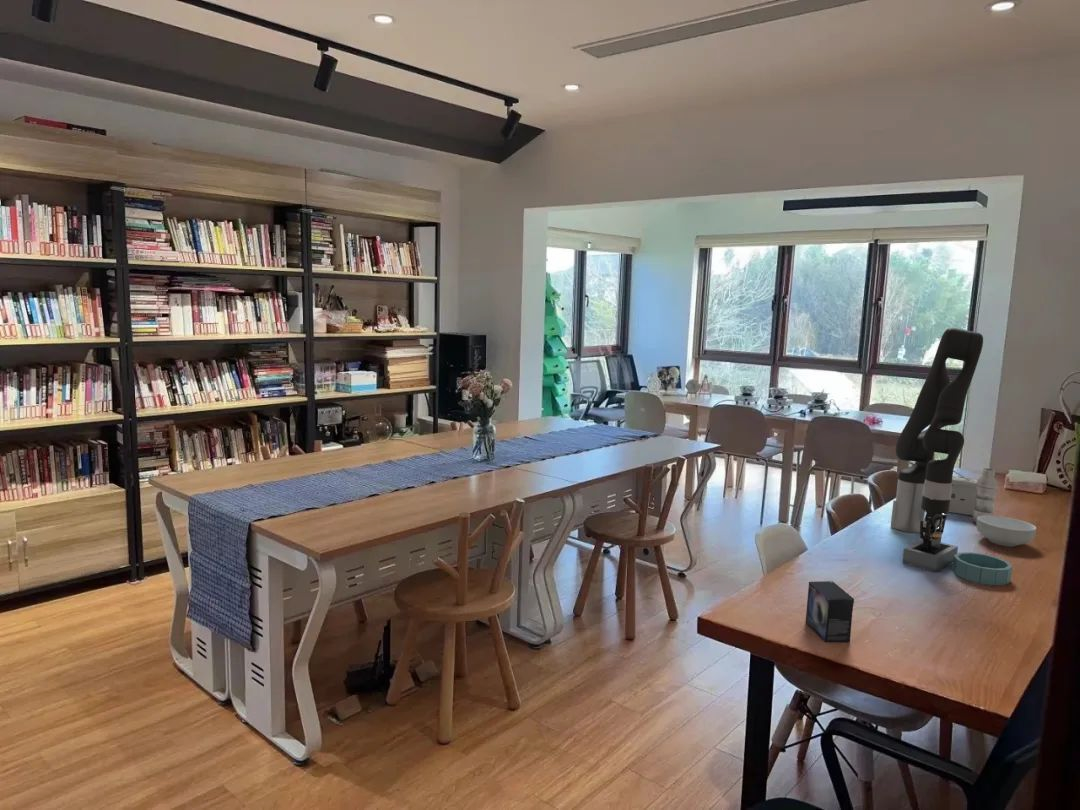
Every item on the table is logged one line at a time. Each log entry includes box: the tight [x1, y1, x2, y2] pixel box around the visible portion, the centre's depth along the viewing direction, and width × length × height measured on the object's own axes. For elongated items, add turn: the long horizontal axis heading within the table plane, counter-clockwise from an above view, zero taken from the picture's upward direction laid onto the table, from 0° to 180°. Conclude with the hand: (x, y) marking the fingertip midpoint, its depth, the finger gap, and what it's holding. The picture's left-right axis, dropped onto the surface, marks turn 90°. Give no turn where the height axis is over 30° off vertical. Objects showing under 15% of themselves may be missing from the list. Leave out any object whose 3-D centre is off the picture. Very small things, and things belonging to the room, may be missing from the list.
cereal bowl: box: [975, 515, 1037, 548], centre depth 244 cm, size 17×17×7 cm
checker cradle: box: [902, 539, 959, 573], centre depth 222 cm, size 10×16×4 cm, turn 132°
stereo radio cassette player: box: [933, 458, 979, 517], centre depth 279 cm, size 21×8×20 cm, turn 58°
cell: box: [921, 529, 943, 555], centre depth 222 cm, size 5×5×8 cm
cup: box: [951, 551, 1013, 586], centre depth 212 cm, size 14×14×4 cm
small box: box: [805, 580, 855, 643], centre depth 171 cm, size 11×6×10 cm, turn 5°
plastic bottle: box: [972, 467, 999, 523], centre depth 263 cm, size 6×7×20 cm
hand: (929, 549), depth 222 cm, fingers closed on cell, 5 cm apart
